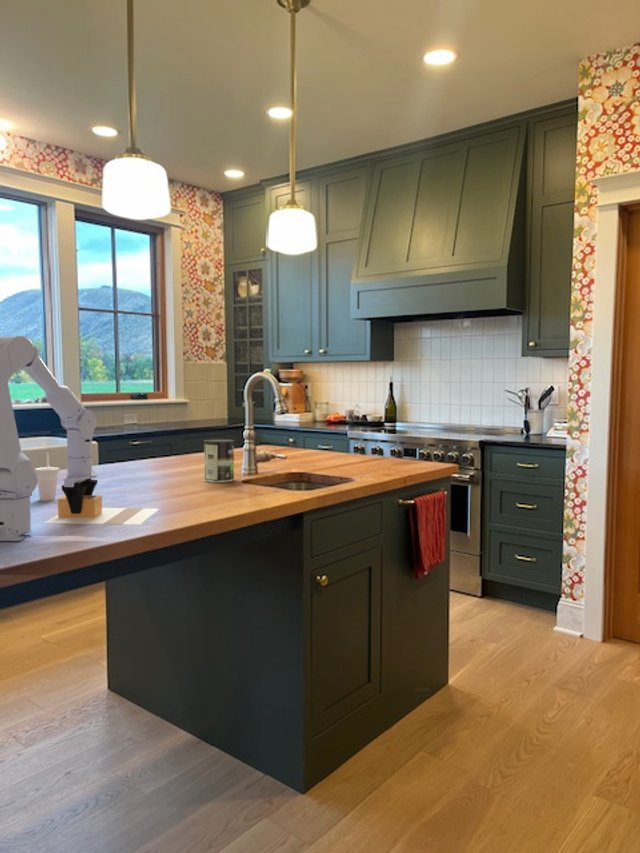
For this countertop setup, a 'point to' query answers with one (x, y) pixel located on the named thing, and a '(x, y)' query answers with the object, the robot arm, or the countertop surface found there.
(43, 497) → the smoothie
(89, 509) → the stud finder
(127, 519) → the drywall panel
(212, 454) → the coffee can
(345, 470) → the countertop surface
